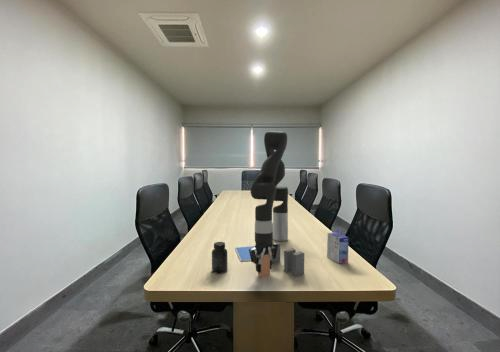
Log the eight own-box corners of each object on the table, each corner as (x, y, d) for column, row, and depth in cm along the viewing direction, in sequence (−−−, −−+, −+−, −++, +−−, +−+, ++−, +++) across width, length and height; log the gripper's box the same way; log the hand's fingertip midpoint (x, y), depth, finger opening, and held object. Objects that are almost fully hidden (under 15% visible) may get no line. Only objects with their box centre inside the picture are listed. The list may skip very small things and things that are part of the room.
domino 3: (284, 270, 103) (284, 250, 102) (292, 268, 106) (292, 248, 105) (287, 272, 101) (287, 251, 101) (295, 269, 104) (295, 249, 104)
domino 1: (257, 275, 98) (257, 254, 98) (267, 272, 101) (267, 251, 101) (260, 277, 97) (260, 255, 96) (270, 274, 100) (270, 253, 99)
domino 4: (292, 275, 99) (292, 253, 98) (300, 272, 101) (300, 251, 101) (295, 276, 97) (295, 255, 97) (304, 273, 100) (304, 252, 99)
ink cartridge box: (349, 263, 110) (349, 232, 110) (339, 264, 109) (339, 233, 109) (336, 255, 120) (336, 227, 120) (326, 256, 119) (326, 228, 118)
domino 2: (269, 263, 111) (269, 244, 111) (277, 260, 114) (277, 242, 113) (272, 264, 109) (272, 245, 109) (280, 262, 112) (280, 243, 112)
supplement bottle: (216, 266, 108) (216, 240, 108) (230, 268, 106) (229, 241, 105) (208, 272, 102) (208, 244, 101) (223, 274, 99) (222, 246, 99)
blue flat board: (234, 249, 132) (234, 247, 132) (256, 247, 135) (256, 245, 134) (240, 263, 113) (240, 260, 113) (265, 260, 116) (265, 258, 116)
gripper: (271, 226, 105) (271, 263, 106) (244, 231, 97) (244, 271, 98) (282, 229, 99) (282, 269, 100) (255, 235, 91) (255, 278, 92)
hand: (264, 270), depth 99 cm, fingers closed on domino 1, 5 cm apart
